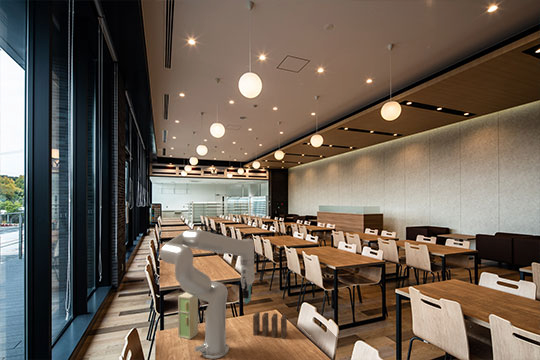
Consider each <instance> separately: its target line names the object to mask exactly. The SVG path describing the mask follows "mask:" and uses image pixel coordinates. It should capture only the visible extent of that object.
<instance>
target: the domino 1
mask: <svg viewBox="0 0 540 360" xmlns="http://www.w3.org/2000/svg"><path fill="white" fill-rule="evenodd" d="M245 284H247V283H245ZM245 287H246V288H247V286H245ZM248 290H249V298H243V299H244V300H243V301H244V302H243V304H248V303H250V301H251V300H252V295H251V284H250V285H248Z"/></svg>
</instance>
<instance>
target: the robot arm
mask: <svg viewBox="0 0 540 360" xmlns="http://www.w3.org/2000/svg"><path fill="white" fill-rule="evenodd" d="M192 249H195V250H199V251H200V250H201V251H207V252H211V253H218V254H227V255H228V254H229V255H232V256H240V266H241V269H240V283H241V288H242V299H244V298H249V290H248V285H250V284H251V296H252V295H253V283H254V282H255V279H256V277H255V276H256V275H255V274H256V273H255V242H254V239H251V238H243V239H238V238H234V237H230V236H226V235H222V234H218V233H213V232H210V231H205V230H201V229H186V230H185V231H182V232H181V233H180V234H178V235H177V236H175V237H173V238H171V240H169V241H168V242H166V243H165V244H164V245H162V247H161V248H160V250H159V256H160V259H161V261H163V262H165V263H167V264H171V265H174V277H175V280H176V281H177V282H178V283H179V287H180V289H181V290H183V291H184V293H186V292H187V293H189V294H191V295H192V296H194V297H196V298H198V300H201V301H205V302H207V303H208V304H207V306H206V309H205V312H204V313H205V314H204V319H205V321H204V323H205V325H204V337H205V338H204V341H203V343H201V345H197V346H194V352H198V353H200V354H201V355H202V356H203V357H204V358H207V359H211V360H214V359H215V360H216V359H219V358H222V357H224V356H226V355H227V354H229V351H230V346H229V344H227V343H226V342H227V341H226V340H227V339H226V329H227V328H226V327H227V325H226V322H227V321H226V320H227V319H226V315H227V313H226V311H227V299H228V295H229V294H228V293H229V290H228V288H227V286H226V285H225V284H224V283H222V282H219V281H215V280H211V278H210V277H209V275H208V274H206V273H204V272H203V271H200V269H198V268H196V267H195V266H194V253H193V250H192ZM245 283H247V284H245ZM245 286H247V288H246V287H245Z"/></svg>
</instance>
